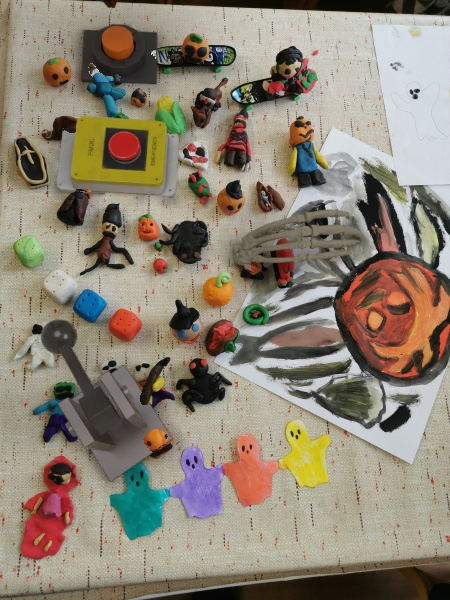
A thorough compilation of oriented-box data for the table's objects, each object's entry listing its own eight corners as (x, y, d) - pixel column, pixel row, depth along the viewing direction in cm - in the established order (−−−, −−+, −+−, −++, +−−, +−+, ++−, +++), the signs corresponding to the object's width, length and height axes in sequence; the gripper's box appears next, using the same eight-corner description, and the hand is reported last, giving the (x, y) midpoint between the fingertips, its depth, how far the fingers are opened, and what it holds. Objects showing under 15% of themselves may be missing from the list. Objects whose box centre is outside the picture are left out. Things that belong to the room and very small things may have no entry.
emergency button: (175, 182, 67) (48, 174, 66) (175, 198, 71) (56, 191, 70) (179, 115, 70) (57, 106, 69) (179, 134, 74) (64, 127, 73)
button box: (81, 82, 75) (78, 69, 73) (84, 33, 77) (81, 19, 75) (156, 84, 76) (155, 72, 73) (157, 35, 78) (156, 22, 76)
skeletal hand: (364, 254, 72) (382, 246, 65) (236, 280, 70) (241, 274, 64) (354, 210, 72) (371, 198, 66) (226, 234, 70) (231, 224, 64)
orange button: (102, 59, 74) (101, 50, 72) (104, 34, 75) (102, 25, 73) (133, 60, 74) (132, 51, 72) (134, 35, 75) (133, 26, 74)
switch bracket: (64, 405, 63) (24, 386, 47) (125, 366, 65) (106, 334, 49) (111, 482, 61) (86, 488, 45) (172, 439, 63) (169, 430, 47)
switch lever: (47, 347, 59) (30, 325, 57) (76, 329, 60) (61, 306, 58) (96, 444, 48) (77, 421, 46) (131, 420, 49) (115, 396, 47)
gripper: (190, -181, 56) (188, -44, 71) (-3, -193, 54) (37, -51, 69) (191, -95, 52) (189, 28, 67) (-14, -106, 51) (30, 23, 66)
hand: (111, 5), depth 68 cm, fingers closed
